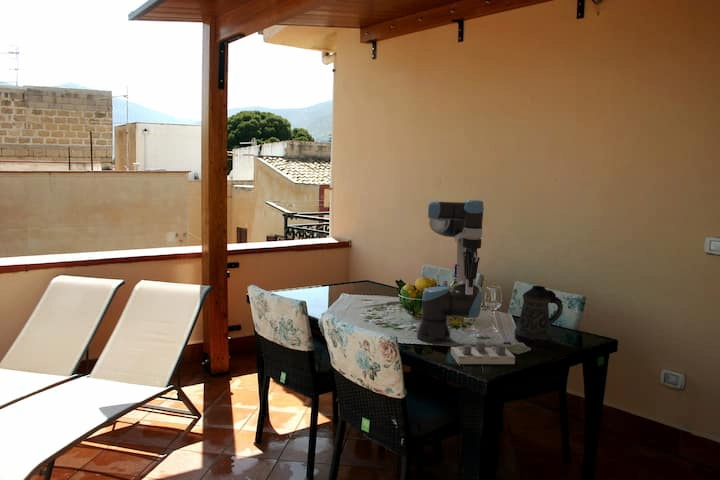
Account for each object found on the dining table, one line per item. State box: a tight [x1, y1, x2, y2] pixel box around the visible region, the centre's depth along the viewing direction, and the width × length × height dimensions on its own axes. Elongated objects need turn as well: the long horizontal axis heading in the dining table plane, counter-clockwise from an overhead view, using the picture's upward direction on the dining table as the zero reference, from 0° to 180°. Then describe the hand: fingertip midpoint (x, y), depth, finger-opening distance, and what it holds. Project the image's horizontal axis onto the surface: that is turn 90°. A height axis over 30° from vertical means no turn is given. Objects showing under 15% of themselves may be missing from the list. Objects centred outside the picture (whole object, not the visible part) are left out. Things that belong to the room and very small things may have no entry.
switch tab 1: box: [462, 344, 473, 356], centre depth 240 cm, size 4×3×4 cm
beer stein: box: [514, 285, 564, 346], centre depth 271 cm, size 16×19×25 cm
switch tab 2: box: [475, 340, 486, 353], centre depth 245 cm, size 4×3×4 cm
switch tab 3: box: [496, 345, 506, 356], centre depth 241 cm, size 4×3×4 cm
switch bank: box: [450, 346, 516, 365], centre depth 243 cm, size 13×23×3 cm, turn 95°
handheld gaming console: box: [490, 339, 532, 355], centre depth 259 cm, size 10×2×15 cm
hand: (469, 294), depth 246 cm, fingers closed
